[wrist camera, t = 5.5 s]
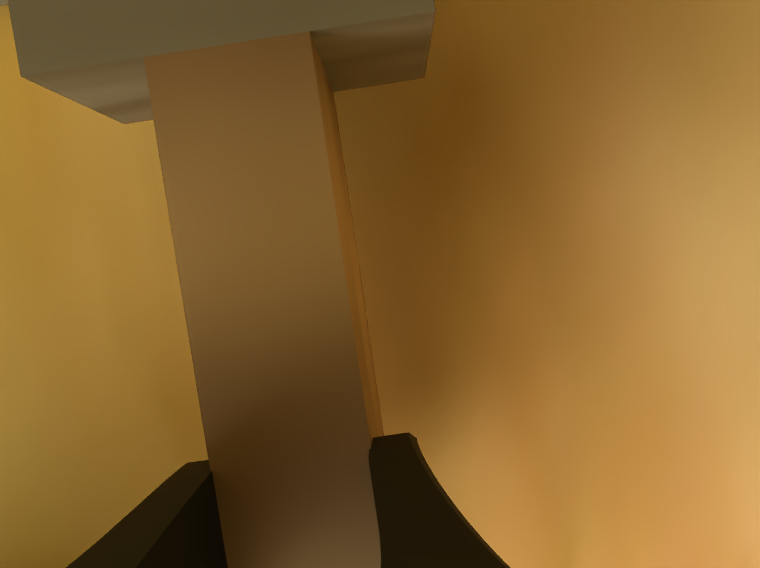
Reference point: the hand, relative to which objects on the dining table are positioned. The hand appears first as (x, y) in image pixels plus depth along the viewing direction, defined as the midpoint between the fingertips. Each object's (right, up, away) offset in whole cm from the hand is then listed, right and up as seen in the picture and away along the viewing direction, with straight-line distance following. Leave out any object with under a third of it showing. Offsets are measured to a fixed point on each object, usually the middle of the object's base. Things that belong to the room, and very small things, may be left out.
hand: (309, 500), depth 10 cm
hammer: (0, +2, +2) cm, 3 cm away
